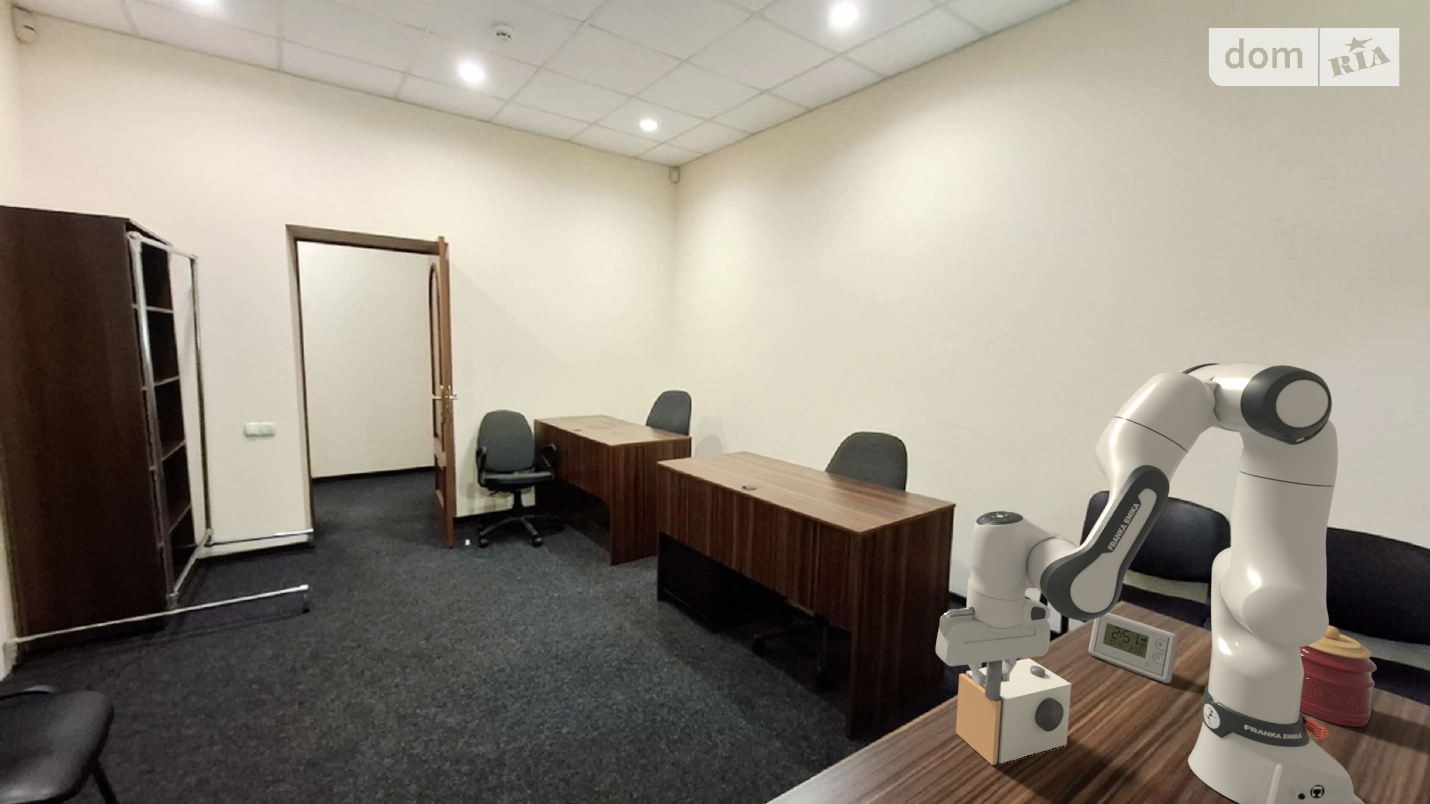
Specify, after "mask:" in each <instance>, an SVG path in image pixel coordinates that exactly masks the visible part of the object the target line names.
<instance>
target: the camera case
mask: <svg viewBox="0 0 1430 804" xmlns="http://www.w3.org/2000/svg"><path fill="white" fill-rule="evenodd" d="M986 669H987V666H985V667H981V668H979V670H980V671H981V672H982V673H983V674H985V675H986ZM965 675H967V676H968V677H969V678H971V679H972V671H971V670H967V671H966V672H965ZM985 681H986V680H985ZM980 686H981V687H983V688H984V689H985V685H980ZM1071 691H1072V683H1071V682H1069V681H1068V680H1065V679H1064V678H1062V677H1061V676H1059V675H1058V674H1056V673H1054V672H1052V671H1051V670H1050V669H1047V668H1046V667H1044V666H1042V665H1041V664H1039V663H1037V662H1036V661H1035V660H1033V659H1031V657H1028V658H1023V659H1019V660H1017V662H1016V665H1015V666H1014V668H1013V670H1012V671H1011V673H1010V677H1009V681H1008V682H1001V692H1000V701H1001V709H1000V724H999V739H998V754H997V761H998V762H1000V763H1004V762H1007V761H1010V760H1014V759H1015V761H1017V760H1016V759H1017V758H1021V757H1024V756H1027V755H1031V754H1033V753H1038V752H1041V751H1044V750H1049V749H1052V748H1055V747H1058V746H1062V745H1065V744H1066V745H1067V742H1068V731H1069V718H1070V706H1071V693H1072V692H1071ZM998 762H997V763H998ZM1000 763H999V764H1000ZM1004 764H1005V763H1004Z"/></svg>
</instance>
